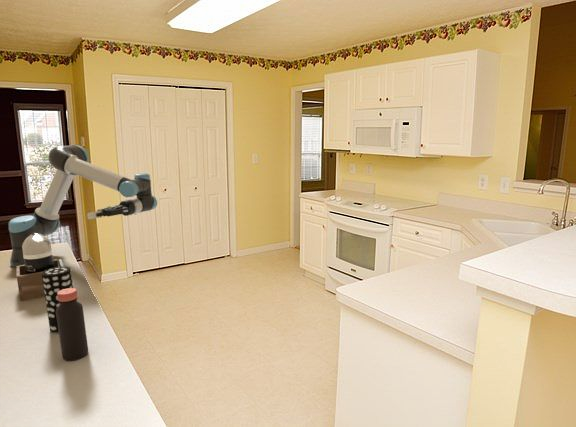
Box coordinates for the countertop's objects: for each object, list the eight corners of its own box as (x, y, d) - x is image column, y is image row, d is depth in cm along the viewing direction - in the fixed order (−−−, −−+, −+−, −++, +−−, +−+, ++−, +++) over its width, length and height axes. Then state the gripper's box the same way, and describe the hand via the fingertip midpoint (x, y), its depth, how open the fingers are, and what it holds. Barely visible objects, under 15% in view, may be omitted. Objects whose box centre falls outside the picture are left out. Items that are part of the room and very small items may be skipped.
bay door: (61, 280, 178) (58, 259, 176) (64, 280, 178) (61, 258, 176) (64, 291, 165) (61, 268, 163) (67, 291, 166) (64, 268, 164)
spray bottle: (44, 295, 162) (35, 235, 157) (22, 294, 164) (13, 235, 159) (63, 286, 172) (55, 229, 167) (42, 284, 174) (34, 228, 169)
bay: (20, 288, 170) (16, 266, 168) (60, 280, 178) (57, 259, 176) (20, 301, 157) (16, 276, 155) (63, 292, 165) (60, 269, 163)
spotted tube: (51, 324, 137) (43, 268, 133) (78, 319, 140) (71, 265, 136) (48, 335, 129) (39, 276, 125) (77, 329, 133) (69, 272, 129)
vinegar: (82, 346, 122) (74, 284, 118) (92, 353, 118) (84, 290, 114) (58, 356, 117) (49, 292, 113) (68, 364, 113) (59, 298, 109)
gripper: (140, 215, 196) (99, 225, 176) (121, 213, 202) (79, 223, 181) (139, 200, 195) (97, 209, 174) (120, 198, 201) (77, 207, 180)
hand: (88, 216), depth 178 cm, fingers closed
